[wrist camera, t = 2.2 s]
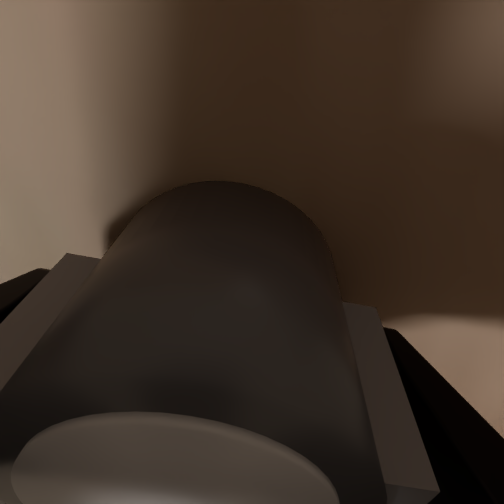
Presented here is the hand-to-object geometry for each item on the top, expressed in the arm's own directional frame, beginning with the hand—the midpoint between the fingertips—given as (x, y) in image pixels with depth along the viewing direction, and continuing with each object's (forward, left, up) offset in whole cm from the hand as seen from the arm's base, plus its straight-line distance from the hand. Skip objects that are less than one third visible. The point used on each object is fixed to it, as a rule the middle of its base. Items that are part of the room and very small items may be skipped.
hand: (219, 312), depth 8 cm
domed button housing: (0, 0, -1) cm, 1 cm away
